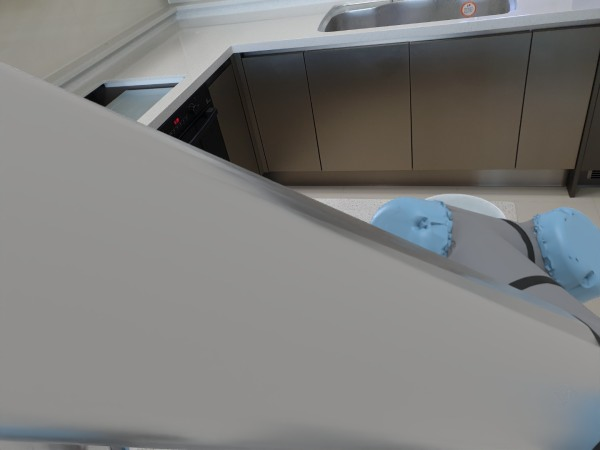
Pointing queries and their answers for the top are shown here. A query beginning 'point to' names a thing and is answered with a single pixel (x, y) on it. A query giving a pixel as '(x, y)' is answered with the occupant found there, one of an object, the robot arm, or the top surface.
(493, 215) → the cereal bowl
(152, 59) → the top surface
